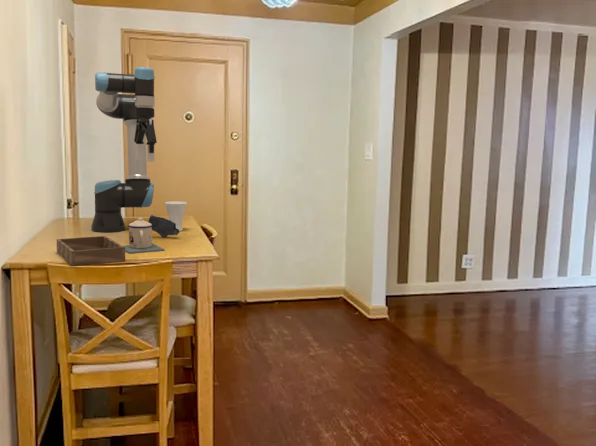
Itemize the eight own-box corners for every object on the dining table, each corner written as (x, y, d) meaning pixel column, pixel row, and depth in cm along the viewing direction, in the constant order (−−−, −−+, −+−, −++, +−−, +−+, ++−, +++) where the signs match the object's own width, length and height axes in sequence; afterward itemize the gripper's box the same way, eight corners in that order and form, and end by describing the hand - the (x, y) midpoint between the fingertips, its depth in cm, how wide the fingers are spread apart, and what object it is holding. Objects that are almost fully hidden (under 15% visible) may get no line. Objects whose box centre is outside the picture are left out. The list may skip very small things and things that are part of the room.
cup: (160, 231, 265) (160, 202, 263) (173, 228, 274) (172, 200, 272) (178, 233, 261) (178, 204, 259) (191, 230, 271) (191, 202, 269)
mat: (118, 247, 223) (118, 245, 223) (152, 244, 231) (152, 243, 231) (129, 253, 212) (129, 252, 212) (164, 250, 219) (164, 249, 219)
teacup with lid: (128, 244, 225) (127, 216, 224) (151, 244, 228) (151, 216, 227) (129, 250, 214) (129, 220, 213) (153, 249, 217) (153, 220, 216)
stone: (179, 236, 252) (179, 214, 251) (179, 238, 246) (179, 216, 245) (147, 236, 249) (147, 214, 248) (147, 238, 244) (146, 216, 242)
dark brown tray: (56, 252, 210) (56, 239, 210) (105, 248, 220) (105, 235, 220) (72, 266, 189) (71, 251, 188) (125, 261, 199) (125, 247, 198)
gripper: (125, 107, 231) (126, 159, 234) (145, 105, 211) (146, 162, 214) (143, 108, 235) (144, 159, 239) (164, 107, 215) (165, 162, 218)
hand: (145, 160), depth 226 cm, fingers open, 13 cm apart
